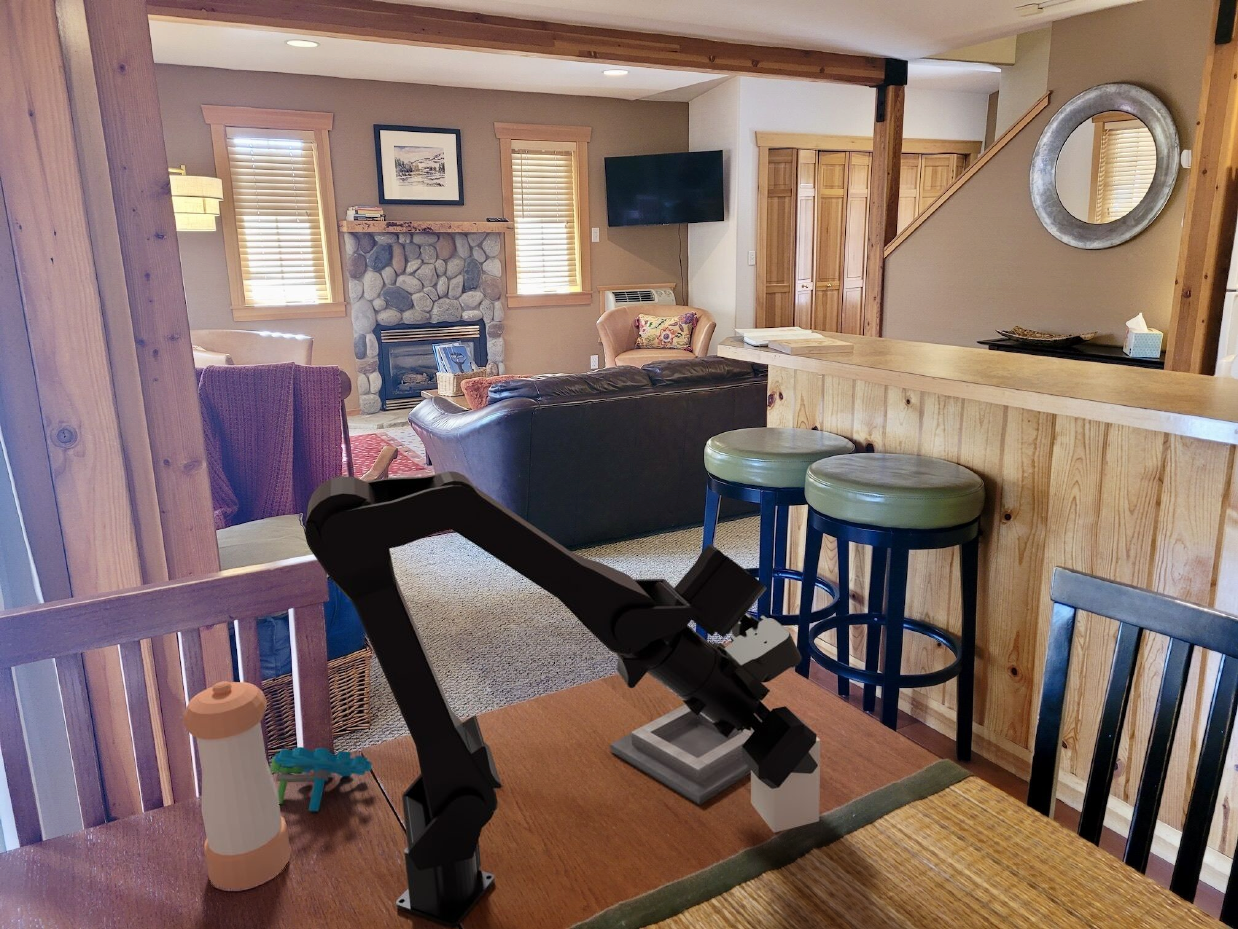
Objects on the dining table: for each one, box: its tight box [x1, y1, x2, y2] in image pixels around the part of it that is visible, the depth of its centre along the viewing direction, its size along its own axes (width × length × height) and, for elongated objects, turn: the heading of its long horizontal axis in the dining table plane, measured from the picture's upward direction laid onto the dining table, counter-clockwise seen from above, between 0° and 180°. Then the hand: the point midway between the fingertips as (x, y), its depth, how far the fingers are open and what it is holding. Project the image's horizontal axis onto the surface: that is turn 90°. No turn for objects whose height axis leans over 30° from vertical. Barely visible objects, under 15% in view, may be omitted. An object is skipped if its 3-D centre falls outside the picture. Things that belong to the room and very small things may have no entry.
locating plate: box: [609, 703, 751, 806], centre depth 98 cm, size 14×14×2 cm
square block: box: [750, 728, 821, 833], centre depth 86 cm, size 5×5×9 cm
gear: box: [269, 746, 373, 812], centre depth 92 cm, size 11×6×10 cm
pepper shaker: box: [182, 680, 292, 889], centre depth 80 cm, size 7×7×19 cm
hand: (797, 751), depth 86 cm, fingers open, 6 cm apart
